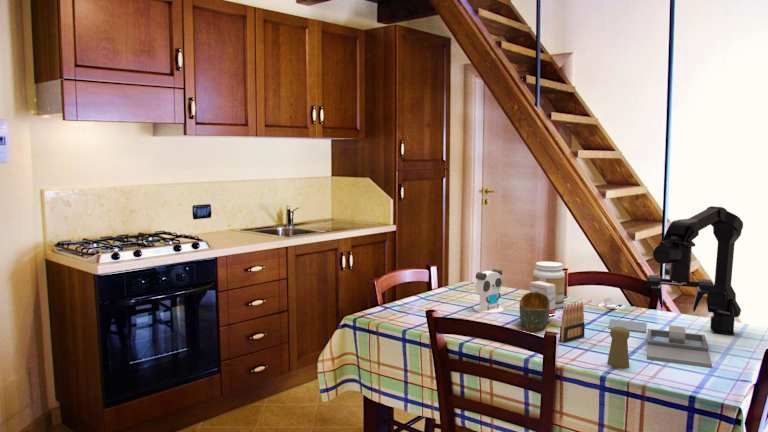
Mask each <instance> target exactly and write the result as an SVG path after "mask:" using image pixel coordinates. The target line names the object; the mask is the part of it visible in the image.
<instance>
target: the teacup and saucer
mask: <svg viewBox="0 0 768 432" xmlns="http://www.w3.org/2000/svg"><path fill="white" fill-rule="evenodd" d="M603 299H604V303H599V304H597V307H598V308H601V309H605V310H618V309H620V307H619V306H618V305H616V304H613V301H614V300H613V299H614V297H611V296H604V298H603ZM603 306H604V307H603ZM616 306H617V307H616Z"/></svg>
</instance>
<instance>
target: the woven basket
mask: <svg viewBox="0 0 768 432" xmlns="http://www.w3.org/2000/svg"><path fill="white" fill-rule="evenodd" d="M549 308H550V302H549V298H548V297H547V296H546V295H544V294H542V293H539V292H537V291H536V292H530V291H529V292H527V293H525V294H524V295H522V296H521V298H520V300H519V317H520V318H519V319H520V321H521V325H522V327H523V328H524V329H525V330H528V331H531V332H539V330H540V331H542V330H544V329H545V328H546V327H547V323H549V322H548V321H549ZM543 328H544V329H543Z"/></svg>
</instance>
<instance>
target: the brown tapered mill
mask: <svg viewBox="0 0 768 432" xmlns="http://www.w3.org/2000/svg"><path fill="white" fill-rule="evenodd" d="M609 335H610V337H611V341H610V346H609V353H608V358H607V361H606V362H607V363H606V365H607V364H608V365H610V366H612V367H611V368H613V367H615V368H614V369H618V368H622V369H623V370H625V368H626V369H629V368H630V357H629V346H628V345H629V344H628V340H629V338H630V331H629V330H628V329H627V328H624V327H613V328H612V329H610V331H609ZM608 365H607V366H608ZM610 366H609V367H610ZM622 369H621V370H622Z"/></svg>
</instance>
